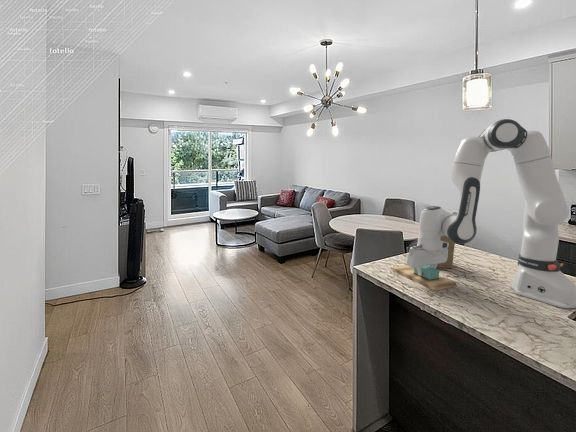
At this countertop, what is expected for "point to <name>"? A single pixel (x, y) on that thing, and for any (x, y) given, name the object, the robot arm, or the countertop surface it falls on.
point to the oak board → (432, 284)
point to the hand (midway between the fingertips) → (425, 274)
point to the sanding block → (428, 273)
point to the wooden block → (450, 253)
